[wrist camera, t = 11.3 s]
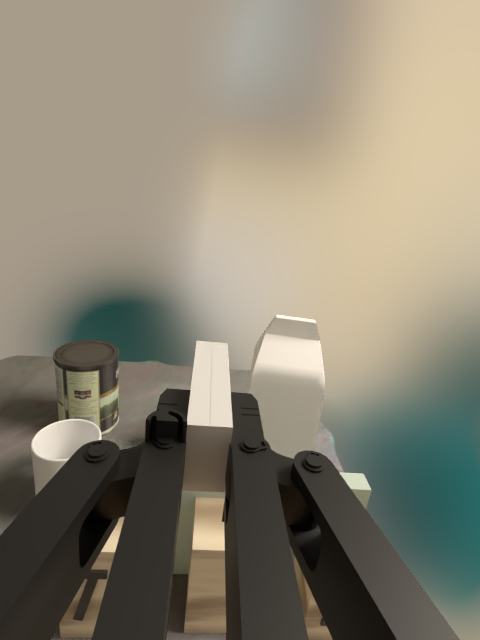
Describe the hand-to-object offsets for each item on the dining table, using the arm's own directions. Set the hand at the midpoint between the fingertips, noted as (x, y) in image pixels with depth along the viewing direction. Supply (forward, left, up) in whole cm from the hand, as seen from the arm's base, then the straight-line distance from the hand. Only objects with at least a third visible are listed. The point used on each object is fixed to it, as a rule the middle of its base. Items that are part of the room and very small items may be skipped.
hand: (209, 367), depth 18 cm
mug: (-4, +31, -35) cm, 47 cm away
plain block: (+8, +8, -35) cm, 37 cm away
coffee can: (+1, +46, -35) cm, 58 cm away
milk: (+27, +25, -35) cm, 51 cm away
